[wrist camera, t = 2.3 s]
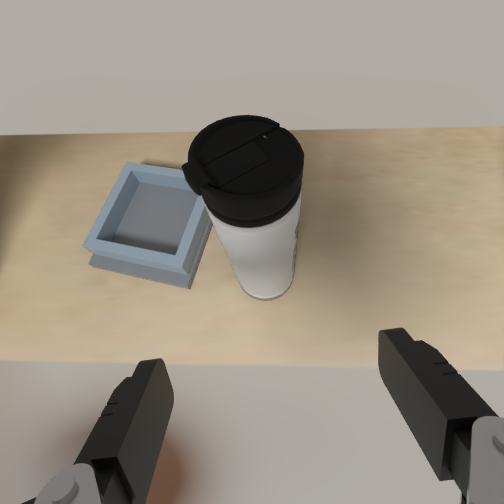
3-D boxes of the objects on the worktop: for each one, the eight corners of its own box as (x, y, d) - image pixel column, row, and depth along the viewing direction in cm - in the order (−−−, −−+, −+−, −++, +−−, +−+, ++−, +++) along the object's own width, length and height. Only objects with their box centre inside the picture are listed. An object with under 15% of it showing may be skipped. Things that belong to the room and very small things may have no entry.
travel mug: (226, 270, 33) (158, 140, 15) (272, 240, 34) (261, 85, 16) (255, 314, 31) (217, 222, 13) (304, 280, 32) (333, 151, 14)
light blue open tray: (93, 267, 35) (74, 255, 32) (140, 171, 41) (128, 153, 38) (190, 289, 33) (180, 279, 30) (226, 184, 39) (221, 166, 35)
